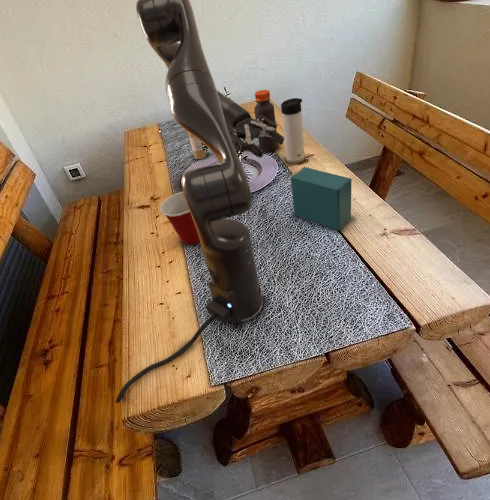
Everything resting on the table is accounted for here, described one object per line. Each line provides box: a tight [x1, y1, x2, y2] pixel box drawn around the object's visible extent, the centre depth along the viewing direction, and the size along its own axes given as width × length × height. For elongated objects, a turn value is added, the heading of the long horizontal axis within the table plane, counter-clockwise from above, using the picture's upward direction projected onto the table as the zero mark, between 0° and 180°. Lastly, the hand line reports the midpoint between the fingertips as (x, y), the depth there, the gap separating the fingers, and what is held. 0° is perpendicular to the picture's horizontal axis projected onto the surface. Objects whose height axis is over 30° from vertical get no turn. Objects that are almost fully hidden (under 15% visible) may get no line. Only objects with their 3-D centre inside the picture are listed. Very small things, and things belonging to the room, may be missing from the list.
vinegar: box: [253, 89, 279, 153], centre depth 135 cm, size 7×7×20 cm
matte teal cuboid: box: [290, 166, 352, 231], centre depth 101 cm, size 6×14×12 cm, turn 50°
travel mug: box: [280, 97, 306, 165], centre depth 125 cm, size 6×7×20 cm
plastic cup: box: [159, 191, 200, 246], centre depth 101 cm, size 11×11×12 cm
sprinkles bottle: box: [187, 131, 207, 160], centre depth 139 cm, size 5×5×13 cm
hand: (272, 148), depth 103 cm, fingers open, 8 cm apart
